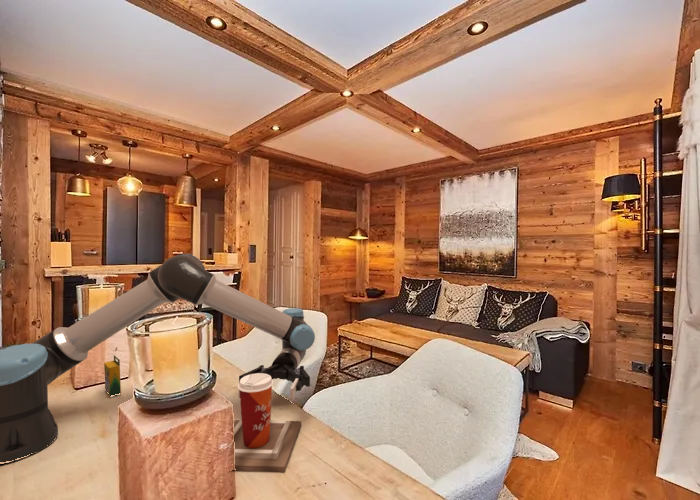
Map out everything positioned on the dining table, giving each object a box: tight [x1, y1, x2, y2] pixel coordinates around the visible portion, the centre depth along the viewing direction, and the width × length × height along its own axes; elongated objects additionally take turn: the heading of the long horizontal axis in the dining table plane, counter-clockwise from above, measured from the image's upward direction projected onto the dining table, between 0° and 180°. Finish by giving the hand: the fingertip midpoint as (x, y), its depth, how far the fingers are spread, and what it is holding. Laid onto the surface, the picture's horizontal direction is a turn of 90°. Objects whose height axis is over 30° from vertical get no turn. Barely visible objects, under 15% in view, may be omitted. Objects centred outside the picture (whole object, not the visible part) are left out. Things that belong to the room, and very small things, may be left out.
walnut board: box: [233, 419, 302, 473], centre depth 80 cm, size 18×18×2 cm
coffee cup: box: [237, 373, 274, 448], centre depth 80 cm, size 8×8×15 cm
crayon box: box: [103, 354, 122, 397], centre depth 109 cm, size 7×3×12 cm, turn 48°
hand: (265, 393), depth 86 cm, fingers open, 13 cm apart
